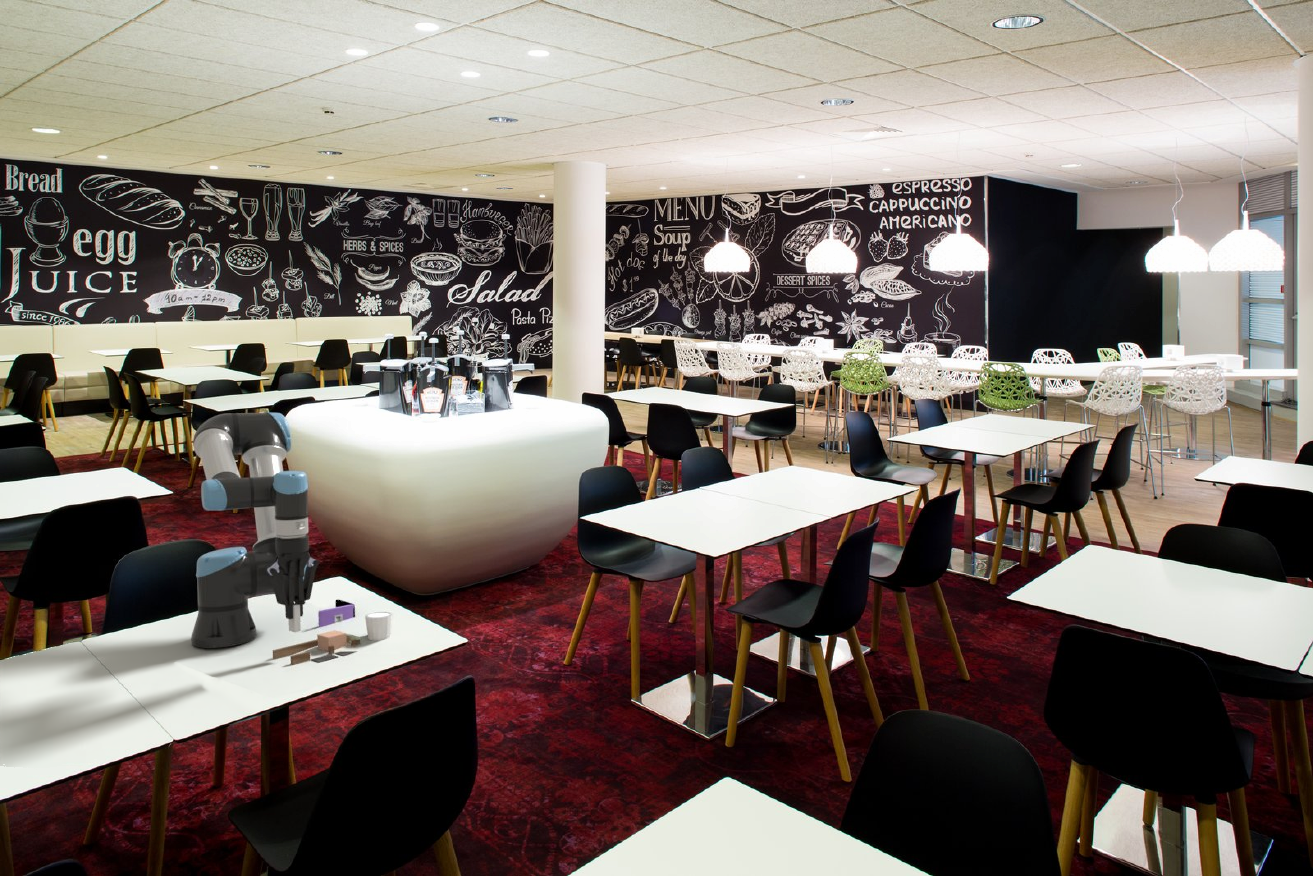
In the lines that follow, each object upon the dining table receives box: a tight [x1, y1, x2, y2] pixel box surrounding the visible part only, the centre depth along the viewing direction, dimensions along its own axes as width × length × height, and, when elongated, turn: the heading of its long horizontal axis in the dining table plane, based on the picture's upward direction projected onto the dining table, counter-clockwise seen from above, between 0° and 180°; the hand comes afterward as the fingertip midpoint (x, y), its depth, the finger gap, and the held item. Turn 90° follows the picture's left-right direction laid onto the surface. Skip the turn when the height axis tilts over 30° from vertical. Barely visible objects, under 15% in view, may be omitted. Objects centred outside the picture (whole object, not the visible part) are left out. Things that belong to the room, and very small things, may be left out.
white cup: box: [364, 611, 394, 641], centre depth 235 cm, size 7×7×7 cm
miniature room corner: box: [318, 599, 356, 628], centre depth 249 cm, size 12×12×7 cm
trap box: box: [272, 632, 362, 666], centre depth 225 cm, size 12×18×2 cm
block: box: [316, 629, 348, 653], centre depth 229 cm, size 5×5×4 cm
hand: (294, 630), depth 222 cm, fingers closed
